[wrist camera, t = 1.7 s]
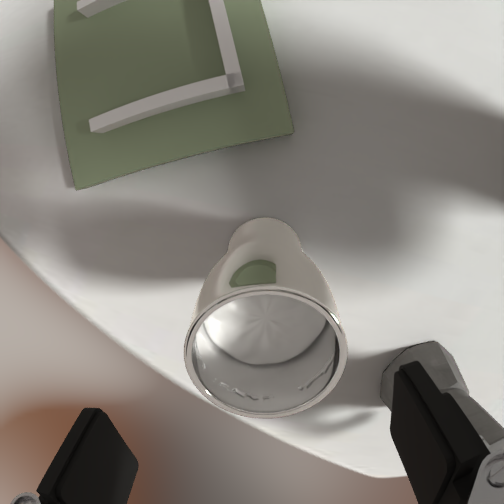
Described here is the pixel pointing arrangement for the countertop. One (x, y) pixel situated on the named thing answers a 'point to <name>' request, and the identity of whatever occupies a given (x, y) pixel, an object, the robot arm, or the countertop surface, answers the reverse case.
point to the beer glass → (265, 327)
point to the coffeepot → (446, 388)
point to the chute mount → (163, 82)
